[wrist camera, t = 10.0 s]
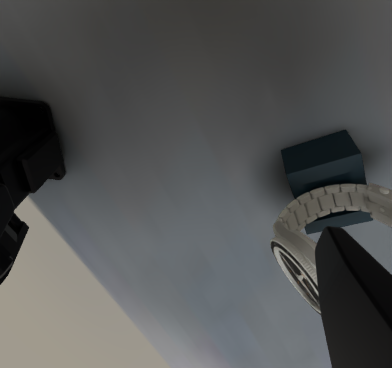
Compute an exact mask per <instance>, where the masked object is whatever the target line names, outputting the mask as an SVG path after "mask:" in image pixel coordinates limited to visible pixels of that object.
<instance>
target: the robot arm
mask: <svg viewBox="0 0 392 368" xmlns="http://www.w3.org/2000/svg"><path fill="white" fill-rule="evenodd" d="M40 107H41V108H42V109H43V110H44V112H43V111H41V110H40ZM57 173H59V174H60V175H59V174H57ZM64 176H65V170H64V166H63V157H62V153H61V149H60V144H59V140H58V136H57V133H56V132H55V128H54V124H53V120H52V115H51V111H50V108H49V106H48V105H47V104H46V103H44V102H41V101H32V100H23V99H14V98H5V97H0V285H1V283H2V282H3V281H4V280H5V278H6V277H7V276H8V274H9V272H10V270H11V268H12V266H13V264H14V261H15V259H16V257H17V254H18V252H19V250H20V247H21V245H22V243H23V240H24V238H25V236H26V234H27V231H28V229H29V227H28V226H27V225H26V223H25V222H23V221H21V220H20V219H19V218H18V217H17V216H16V214H15V213H14V210H15V209H16V208H17V206H18V205H19V204H20V203H21V202H22V201H23V200H24V199H25V198H26V197H27V196H28V195H29V193H35V192H36V191H37V190H38V189H39V188H40V187H41V186H42V185H43V184H44V182H45V181H46V180H47V179H55V180H61V179H62V178H63V177H64ZM315 263H316V274H317V285H318V297H319V306H320V311H321V317H322V322H323V326H324V331H325V336H326V341H327V346H328V350H329V355H330V360H331V365H332V368H392V275H391V274H390V273H389V272H388V271H387V270H386V269H385V268H384V267H383V266H382V265H381V264H380V263H379V262H378V261H377V260H375V259H374V258H373V257H372V256H371V255H370V254H369V253H368V252H367V251H366V250H365V249H364V248H363V247H362V246H361V245H360V244H359V243H358V242H357V241H355V240H354V239H353V238H352V237H351V236H350V235H349V234H348V233H347V232H346V231H345V230H344V229H342V228H340V227H333V226H326V227H325V228H324V229H323V231H322V233H321V236H320V238H319V240H318V242H317V245H316V247H315Z"/></svg>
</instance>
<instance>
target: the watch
mask: <svg viewBox="0 0 392 368" xmlns="http://www.w3.org/2000/svg"><path fill="white" fill-rule="evenodd" d="M281 153H282V157H283V162H284V166H285V171H286V175H287V178H288V181H289V184H290V187H291V190H292V193H293V195H294V198H295V200H293V201H292V202H291V203H289V204H288V205H287V206H286V208H285V209H284V210H283V211H282V212H281V213H280V215H279V216H278V219H277V220H276V222H275V224H274V225H273V230H274V234H275V236H276V237H274V238H273V239H271V241H270V245H271V249H272V251H273V254H274V256H275V258H276V260H277V262H278V263H279V265H280V267H281V268H282V270H283V272H284V273H285V275H286V276H287V277H288V279H289V280H290V282H291V283H292V284H293V286H294V287H295V288H296V289H297V291H298V292H299V293H300V294H301V296H302V297H303V298H304V299H305V300H306V301H307V302H308V303H309V304H310V306H311V307H312V308H313V309H314V310H316V311H317V312H318V313H319V314H320V315H321V311H320V306H319V297H318V285H317V274H316V263H315V247H316V245H317V244H316V243H315V242H314V241H313V240H311V239H310V238H309V237H307V236H306V235H304V234H303V233H301V232H300V231H301V230H302V229H303V228H304V227H305V230H306V233H307V234H311V233H316V232H321V231H323V229H324V228H325V227H326V226H333V227H344V226H349V225H353V224H358V223H363V222H367V221H372V220H373V219H375V220H378V221H380V222H382V223H384V224H386V225H388V226H390V227H392V190H390V189H387V188H385V187H382V186H379V185H376V184H372V183H369V186H368V185H367V183H366V178H365V172H364V167H363V161H362V155H361V152H360V151H359V149H358V148H357V146H356V145H355V143H354V142H353V140H352V138H351V137H350V135H349V134H348V132H347V131H346V130H343V131H340V132H337V133H333V134H330V135H327V136H324V137H321V138H318V139H315V140H311V141H308V142H305V143H302V144H299V145H296V146H292V147H289V148H286V149H283V150H281Z"/></svg>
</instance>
